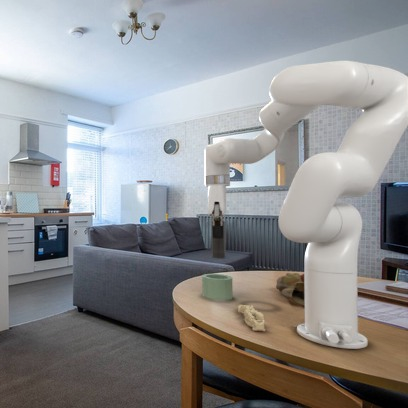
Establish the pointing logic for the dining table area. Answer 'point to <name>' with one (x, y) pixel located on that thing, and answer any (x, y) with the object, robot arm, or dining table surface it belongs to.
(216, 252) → the peg
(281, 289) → the figurine
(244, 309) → the beige lumpy bar
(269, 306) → the dining table surface
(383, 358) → the dining table surface
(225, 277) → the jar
